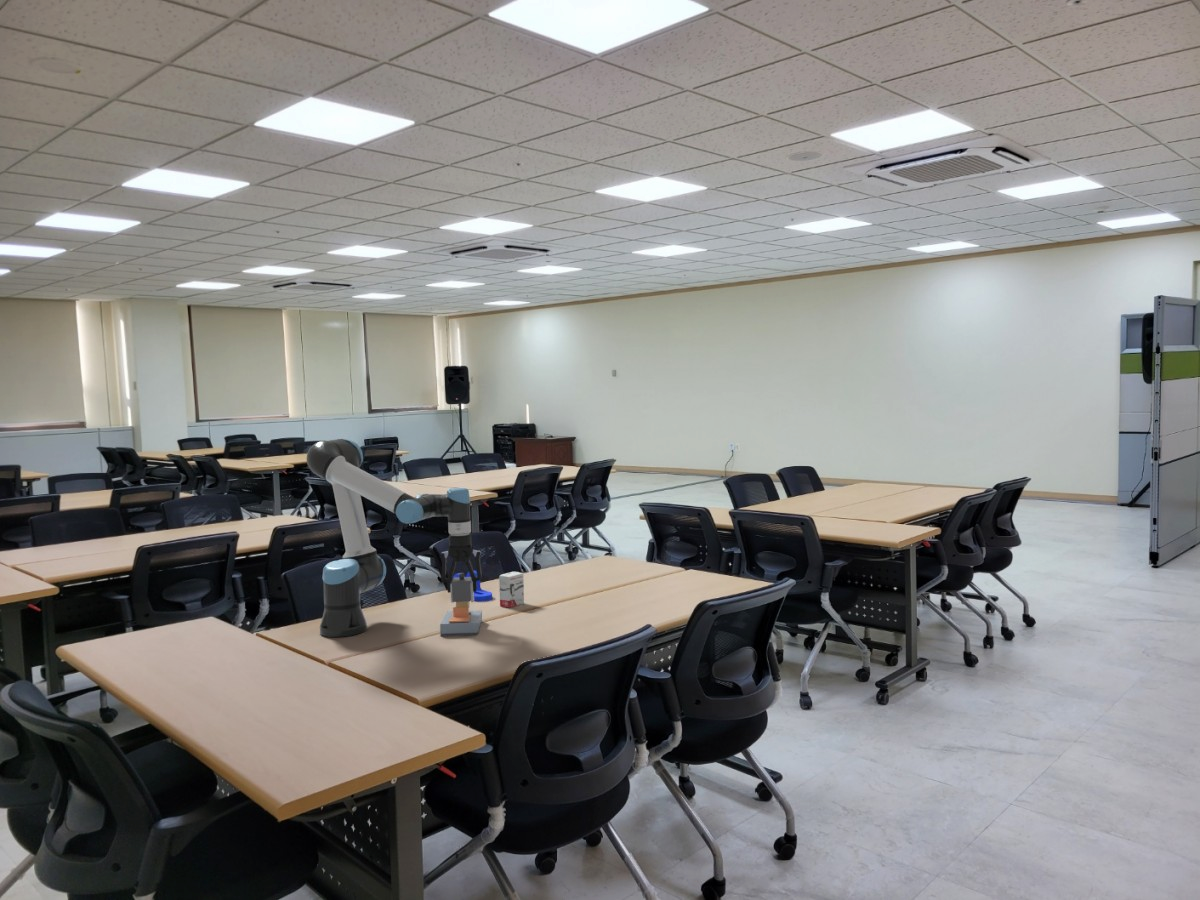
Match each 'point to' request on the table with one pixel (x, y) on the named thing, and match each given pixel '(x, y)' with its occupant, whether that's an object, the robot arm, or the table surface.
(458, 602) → the plug
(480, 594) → the bracket
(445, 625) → the socket
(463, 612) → the shutter
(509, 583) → the ink box
